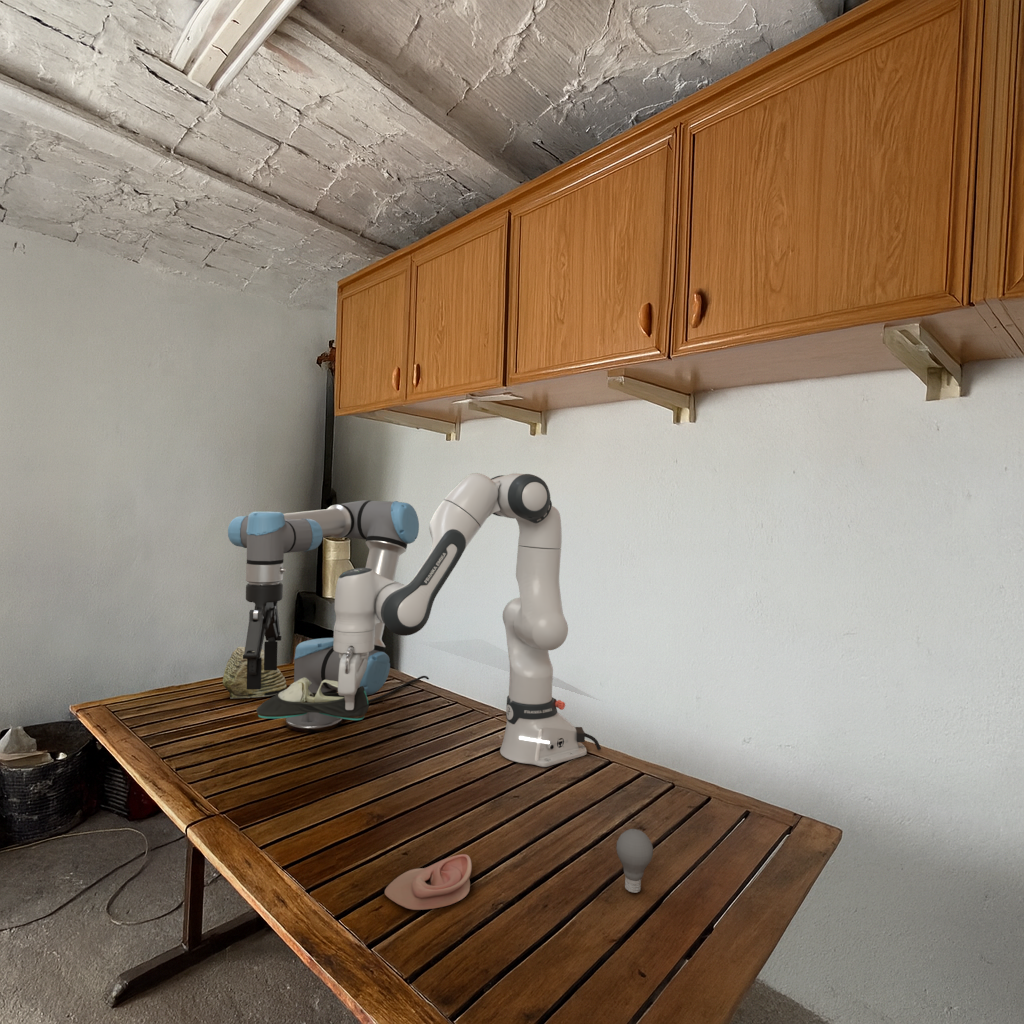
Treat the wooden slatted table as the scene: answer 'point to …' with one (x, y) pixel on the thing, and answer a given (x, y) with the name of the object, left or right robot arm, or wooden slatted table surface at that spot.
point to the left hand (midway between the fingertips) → (262, 679)
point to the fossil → (238, 678)
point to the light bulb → (634, 857)
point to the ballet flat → (312, 702)
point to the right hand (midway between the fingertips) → (352, 703)
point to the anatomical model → (432, 884)
